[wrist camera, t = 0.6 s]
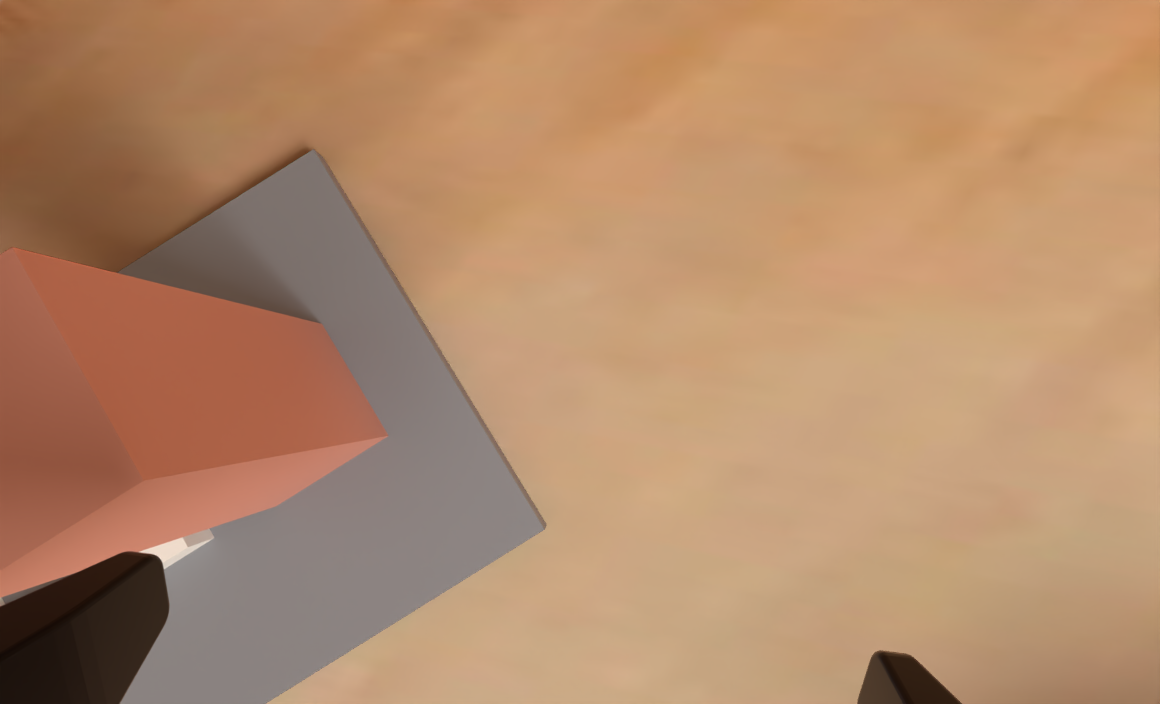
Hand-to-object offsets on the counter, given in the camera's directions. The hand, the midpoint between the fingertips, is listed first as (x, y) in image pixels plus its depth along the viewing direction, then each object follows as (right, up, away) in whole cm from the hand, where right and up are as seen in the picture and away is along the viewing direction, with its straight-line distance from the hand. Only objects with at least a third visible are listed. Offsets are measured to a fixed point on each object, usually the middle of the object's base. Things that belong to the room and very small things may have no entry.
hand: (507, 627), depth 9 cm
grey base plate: (-13, -1, +16) cm, 20 cm away
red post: (-8, +1, +15) cm, 17 cm away
